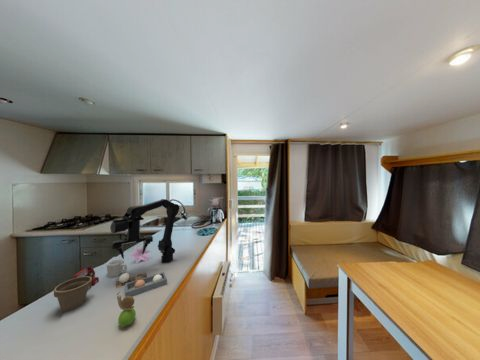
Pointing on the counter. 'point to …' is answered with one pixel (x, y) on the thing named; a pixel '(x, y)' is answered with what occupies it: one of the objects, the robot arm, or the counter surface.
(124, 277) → the ball ivory rack
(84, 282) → the flower pot
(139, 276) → the rack
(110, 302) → the counter surface
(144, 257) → the lily
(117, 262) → the cup
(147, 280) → the trough
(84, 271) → the toy fire truck
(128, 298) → the snail figurine
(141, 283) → the ball terracotta
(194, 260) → the counter surface
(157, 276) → the ball ivory trough
